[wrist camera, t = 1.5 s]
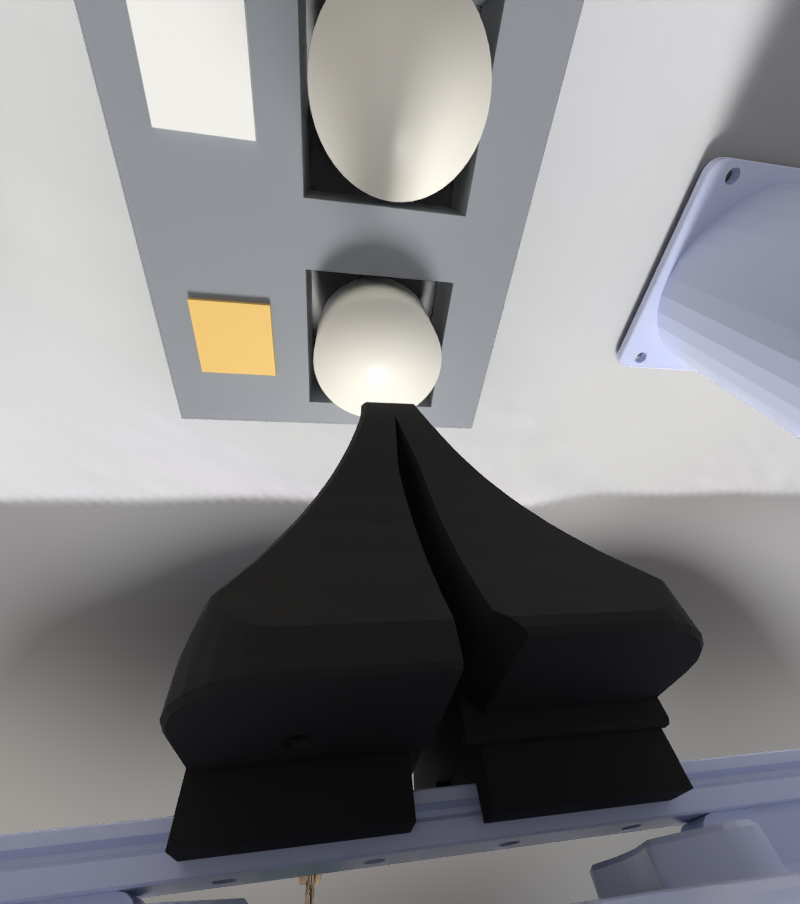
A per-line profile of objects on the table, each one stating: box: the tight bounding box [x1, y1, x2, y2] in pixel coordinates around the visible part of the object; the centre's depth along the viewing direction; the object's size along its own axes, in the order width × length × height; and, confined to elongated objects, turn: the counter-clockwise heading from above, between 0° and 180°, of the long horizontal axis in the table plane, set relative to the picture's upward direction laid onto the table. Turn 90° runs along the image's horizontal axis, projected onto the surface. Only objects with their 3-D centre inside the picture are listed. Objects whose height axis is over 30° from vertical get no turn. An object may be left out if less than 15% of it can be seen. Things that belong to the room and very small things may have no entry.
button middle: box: [307, 0, 492, 202], centre depth 11 cm, size 4×4×3 cm
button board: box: [74, 0, 584, 428], centre depth 11 cm, size 12×21×3 cm, turn 173°
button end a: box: [313, 277, 442, 416], centre depth 15 cm, size 4×4×3 cm
